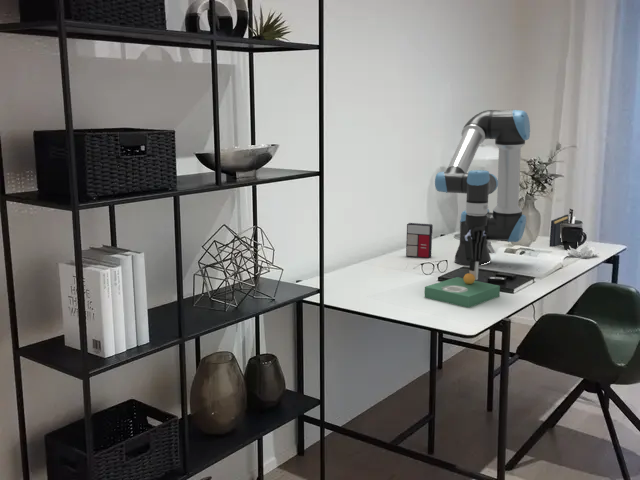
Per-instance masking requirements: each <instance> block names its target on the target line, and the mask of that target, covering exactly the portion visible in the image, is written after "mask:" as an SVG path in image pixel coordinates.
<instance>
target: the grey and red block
mask: <svg viewBox="0 0 640 480" xmlns="http://www.w3.org/2000/svg"><path fill="white" fill-rule="evenodd" d="M432 241H433V224H432V223H418V222H408V223H407V224H406V242H405V244H406V247H405V248H406V250H405V256H406V257H408V258H409V257H410V258H420V259H421V258H422V259H430V258H432V250H433V249H432V248H433V247H432V245H433V242H432Z"/></svg>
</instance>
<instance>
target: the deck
mask: <svg viewBox="0 0 640 480" xmlns="http://www.w3.org/2000/svg"><path fill="white" fill-rule="evenodd" d="M463 278H464V277H459V276H456V277H453V278H449V279H446V280H442V281H438V282H437V283H433V284H430V285H426V286H424V298H427V299H431V300H434V301H438V302H443V303H447V304H451V305H455V306H460V307H463V308H472V307H474V306H477V305H480V304H483V303H485V302H487V301H490V300H493V299H495V298H496V299H497V298H498V297H500V294H501V293H500V292H501V291H500V290H501V285H498V284H492V283H488V282H483V281H478V280H475V281H474V283H472V284H466V283H465V282H464V279H463Z"/></svg>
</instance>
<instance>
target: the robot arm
mask: <svg viewBox="0 0 640 480" xmlns="http://www.w3.org/2000/svg"><path fill="white" fill-rule="evenodd" d="M530 123H531V121H530V118H529V115H528V113H527V111H525V110H522V109H520V110H518V109H487V110H483V111H481V112H479V113H477V114H476V115H474V116H472V117H471V118H470V119H469V120H468V121H467V122H466V123H465V125H464V126H463V128H462V129H461V138H460V141H459V142H458V145H457V147H456V149H455V150H454V153H453V155H452V157H451V160H450V162H449V164H448V166H447V168H446V170H445V171H440V172H439V171H438V172H437V173H436V175H435V178H434V187H435V190H436V191H437V192H441V193H445V194H446V193H447V194H449V193H450V194H466V202H465V210H463V211H462V212H461V214H460V221H459V223H460V225H459V226H460V227H459V244H458V248H457V250H456V252H455V256H454V262H455V263H456V264H459V265H462V266H469V270H468V271H469V273H471V274H473V275H474V277H475V281H478V279H479V267H480V266H479V265H481V264H484V263H487V262H489V261H490V260H491V259H492V258H491V253H490V250H489V249H488V247H487V240H490V241H496V242H507V243H517V242H520V241H521V240H522V237H523V235H524V232H525V230H526V229H525V228H526V225H527V224H526V223H527V216H526V215H525V214H523V209H522V208H521V207H520V206H519V201H520V200H519V199H520V176H521V152H522V151H521V150H522V148H523V147H524V145H526V141H527V140H529V139H530V135H531V124H530ZM485 140H495V141H494V144H495V146H496V147H497V148H498V158H497V159H498V164H497V176H496V175H494V174H492V173H490V171H488V170H483V169H482V170H481V169H474V170H473V169H472V170H469V169H470V167H471V164H472V162H473V160H474V157H475V156H476V154H477V151H478V149H479V147H480V145H481V144H482V143H483V142H484V141H485ZM496 190H497V191H496ZM495 191H496V194H497V195H496V196H497V197H496V198H497V199H496V206H495V207H494V208H493V209H492V212H490V209H489V195H490V194H493V193H494V192H495Z"/></svg>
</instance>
